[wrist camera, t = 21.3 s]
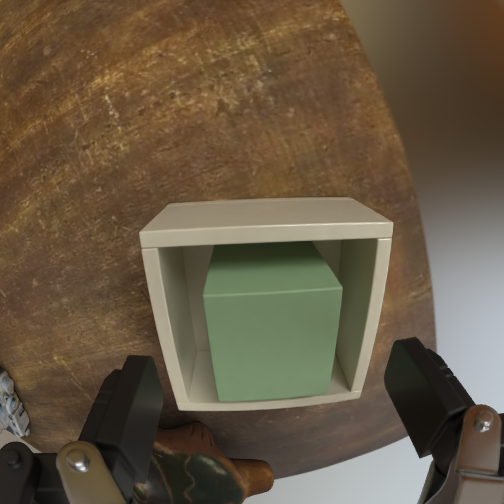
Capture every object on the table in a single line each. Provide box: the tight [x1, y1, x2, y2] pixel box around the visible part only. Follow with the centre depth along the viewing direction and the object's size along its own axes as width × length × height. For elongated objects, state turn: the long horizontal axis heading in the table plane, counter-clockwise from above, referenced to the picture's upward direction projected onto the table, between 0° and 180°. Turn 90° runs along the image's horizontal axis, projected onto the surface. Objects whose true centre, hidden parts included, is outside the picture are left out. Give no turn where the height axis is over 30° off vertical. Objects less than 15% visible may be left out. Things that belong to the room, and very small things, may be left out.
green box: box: [202, 241, 343, 401], centre depth 13 cm, size 5×4×5 cm
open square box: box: [139, 197, 393, 411], centre depth 13 cm, size 9×9×5 cm
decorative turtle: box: [132, 421, 274, 504], centre depth 17 cm, size 10×15×8 cm, turn 81°
